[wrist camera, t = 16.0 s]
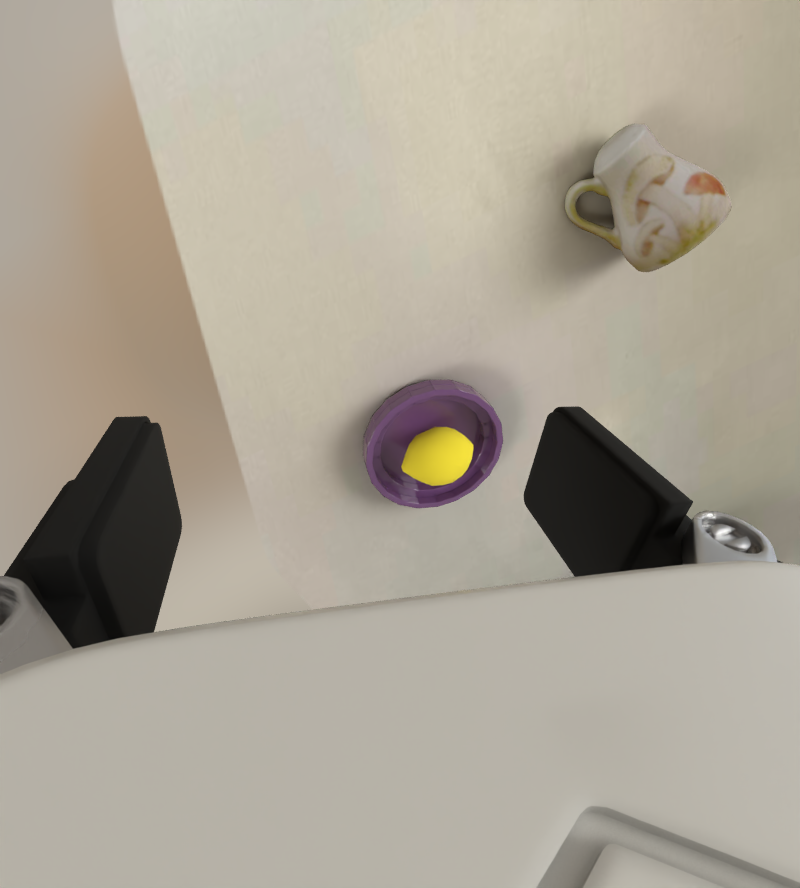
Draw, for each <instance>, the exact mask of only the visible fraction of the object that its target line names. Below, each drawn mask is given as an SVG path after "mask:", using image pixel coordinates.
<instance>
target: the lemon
mask: <svg viewBox="0 0 800 888" xmlns="http://www.w3.org/2000/svg"><path fill="white" fill-rule="evenodd" d="M472 455H473V444H472V443H471V441H469V440H468V439H467V438H466V437H465V436H464V435H463V434H461V433H460V432H458V431H457V430H455V429H452V428H449V427H434V428H431V429H429V430H427V431H425V432H423V433H420V434H418V435H416V436H415V437H414V439H413V440H412V441H411V443H410V444H409V446H408V449H407V451H406V454H405V457H404V460H403V463H402V466H401V468H402V471H403V472H405V473H406V474H408V475H409V476H411V477H413V478H414V479H416V480H418V481H421V482H423V483H425V484H428V485H431V486H437V485H445V484H449V483H453V482H454V481H456V480H457V479H458V478H460V477H461V476H462V475H463V474H464V473H465V472H466V470H467V469H468V467H469V465H470V462H471V460H472Z"/></svg>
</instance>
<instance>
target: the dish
mask: <svg viewBox="0 0 800 888" xmlns="http://www.w3.org/2000/svg"><path fill="white" fill-rule="evenodd" d="M434 427H449V428H452V429H455V430H457V431H458V432H460V433H461V434H463V435H464V436H465V437H466V438H467V439H468V440H469V441H471V443H472V444H473V455H472V460H471V462H470V465H469V467H468V469H467V470H466V472H465V473H464V474H463V475H462V476H461V477H460V478H458V479H457V480H456V481H454V482H453V483H449V484H445V485H437V486H431V485H428V484H425V483H423V482H421V481H418V480H416V479H414V478H413V477H411V476H409V475H408V474H406V473H405V472H403V471H402V468H401V466H402V463H403V460H404V457H405V454H406V451H407V449H408V446H409V444H410V443H411V441H412V440H413V439H414V437H415V436H416V435H418V434H420V433H423V432H425V431H427V430H429V429H431V428H434ZM502 444H503V436H502V426H501V422H500V420H499V418H498V416H497V414H496V413H495V411H494V409H493V407H492V406H491V405H490V404H489V403H488V401H487V400H486V399H485V398H484V397H483V396H482V395H481V394H479V393H478V392H477V391H476V390H474V389H473V388H472V387H471V386H468V385H465V384H462V383H459V382H456V381H453V380H426V381H423V382H420V383H416V384H413V385H410V386H407V387H405V388H403V389H402V390H400V391H399V392H397V393H396V394H394V395H393V396H391V397H389V398H388V399H387V400H386V401H385V402H384V403H383V404H382V405H381V406H380V408H379V409H378V410H377V411H376V412H375V413H374V414H373V416H372V418H371V420H370V422H369V425H368V427H367V429H366V432H365V434H364V442H363V457H364V460H365V464H366V468H367V471H368V474H369V477H370V480H371V483H372V484H373V485H374V486H375V487H376V488H377V490H378V491H379V492H380V493H381V494H382V495H383V496H384V497H386V498H388V499H389V500H391V501H393V502H395V503H397V504H399V505H403V506H408V507H414V508H428V507H438V506H441V505H444V504H448V503H451V502H454V501H456V500H458V499H460V498H462V497H463V496H465V495H467V494H468V493H470V492H472V491H473V490H475V489H476V488H477V487H478V486H479V485H480V484H481V483H482V482H483V481H484V480H485V479H486V478H487V477H488V476H489V474H490V473H491V471H492V469H493V468H494V466H495V464H496V463H497V461H498V459H499V456H500V452H501V448H502Z"/></svg>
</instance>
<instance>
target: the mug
mask: <svg viewBox="0 0 800 888" xmlns="http://www.w3.org/2000/svg"><path fill="white" fill-rule="evenodd" d="M593 174H594V178H593V179H586V180H580V181H578V182H577V183H575V184H574V185H573V186H572V187H570V189H569V190H568V193H567V195H566V199H565V210H566V213H567V215H568V217H569V219H570V220H571V221H572V222H573V223H574V224H575V225H576V226H578V227H579V228H581V229H584V230H586V231H588V232H591V233H593V234H595V235H597V236H599V237H601V238H603V239H605V240H607V241H608V242H609V243H610V244H611V245H612V246H613V247H615V248H617V249H619V250H621V251H622V253H623V255H624V256H625V258H626V259H627V261H628V262H629V263H630V264H631V265H633V266H634V267H635V268H636V269H637V270H638V271H641V272H650V271H654V270H657V269H659V268H661V267H663V266H665V265H668V264H669V263H671V262H673V261H675V260H676V259H678V258H680V257H682V256H683V255H685V254H686V253H688V252H689V251H691V250H692V249H693V248H695V247H696V246H697V245H699V244H700V243H701V242H702V241H704V240H705V239H706V238H707V237H708V236H709V235H711V234H712V233H713V232H714V231H715V230H716V229H717V228H718V227H719V226H720V225H721V224H722V223H723V221H724V220H725V219H726V218H727V216H728V215H729V213H730V211H731V208H732V205H731V200H730V198H729V195H728V193H727V190H726V188H725V187H724V185H723V184H722V182H721V181H720V180H719V179H718V178H717V177H716V176H714V175H713V174H711V173H710V172H708V171H706V170H704V169H702V168H700V167H698V166H697V165H694V164H692V163H690V162H688V161H686V160H684V159H682V158H679V157H677V156H675V155H673V154H672V153H670V152H668V151H667V150H666V149H665V148H664V147H662V146H661V144H660V143H659V142H658V141H657V139H656V138H655V136H654V135H653V134H652V132H651V131H650V130H649V128H648V126H647V125H645V124H632V125H628V126H626V127H624V128H623V129H621V130H619V131H618V132H617V133H616V134H614V135H613V136H612V137H611V138H610V139H609V140H608V141H607V142H606V143H605V144H604V145H603V146H602V148H601V149H600V151H599V152H598V154H597V157H596V159H595V163H594V170H593ZM587 191H594V192H596V193H597V194H600V195H603V196H607V197H608V198H609V199H610V203H611V207H612V212H613V218H614V228H612V229H610V228H606V227H604V226H600V225H597V224H595V223H592V222H590V221H588V220H586V219H584V218H582V217H581V216H579V215H578V213H577V211H576V208H575V205H576V200H577V199H578V197H579V196H580V195H581V194H583V193H584V192H587Z"/></svg>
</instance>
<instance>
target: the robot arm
mask: <svg viewBox="0 0 800 888" xmlns="http://www.w3.org/2000/svg"><path fill="white" fill-rule="evenodd" d="M524 502H525V505H526V507H527V508H528V510H529V511H530V513H531V514H532V515H533V517H534V518H535V520H536V521H537V523H538V524H539V526H540V527H541V528H542V530H543V531H544V533H545V534H546V536H547V537H548V538H549V540H550V541H551V543H552V544H553V546H554V547H555V549H556V550H557V551H558V553H559V554H560V556H561V557H562V559H563V560H564V562H565V563H566V564H567V566H568V567H569V569H570V570H571V572H572V573H573V575H574V576H575V577H571V578H562V579H554V580H545V581H537V582H528V583H520V584H512V585H504V586H496V587H488V588H480V589H471V590H463V591H455V592H447V593H439V594H431V595H423V596H415V597H407V598H399V599H391V600H384V601H376V602H368V603H361V604H353V605H345V606H337V607H330V608H322V609H314V610H307V611H299V612H291V613H284V614H276V615H268V616H261V617H253V618H247V619H239V620H232V621H224V622H217V623H210V624H203V625H196V626H190V627H184V628H177V629H171V630H165V631H159V632H154V630H155V626H156V622H157V619H158V615H159V611H160V607H161V604H162V600H163V597H164V593H165V590H166V586H167V582H168V579H169V575H170V571H171V568H172V564H173V561H174V557H175V553H176V550H177V546H178V542H179V539H180V535H181V529H182V521H181V514H180V510H179V506H178V501H177V497H176V492H175V488H174V484H173V479H172V475H171V471H170V466H169V462H168V457H167V453H166V449H165V444H164V440H163V435H162V431H161V427H160V425H159V424H158V423H151V422H150V420H149V418H148V417H147V416H141V417H116V418H115V419H114V420H113V421H112V423H111V425H110V426H109V428H108V429H107V431H106V432H105V434H104V435H103V437H102V438H101V440H100V442H99V443H98V445H97V446H96V448H95V449H94V451H93V452H92V454H91V455H90V457H89V458H88V460H87V461H86V463H85V464H84V466H83V468H82V469H81V471H80V472H79V474H78V475H77V477H76V478H75V480H71V481H69V482H68V483H67V484H66V485H65V486H64V487H63V488H62V490H61V491H60V493H59V494H58V496H57V497H56V499H55V500H54V502H53V503H52V505H51V506H50V508H49V509H48V511H47V512H46V514H45V515H44V517H43V518H42V520H41V521H40V523H39V524H38V526H37V527H36V529H35V530H34V532H33V533H32V535H31V536H30V537H29V539H28V540H27V542H26V543H25V545H24V547H23V548H22V550H21V551H20V552H19V554H18V555H17V557H16V559H15V560H14V561H13V563H12V564H11V566H10V567H9V569H8V570H7V572H6V573H5V575H4V576H0V888H800V565H795V564H789V563H783V562H780V561H777V559H776V556H775V552H774V549H773V547H772V545H771V543H770V541H769V540H768V539H767V538H766V537H765V536H764V535H763V534H762V533H761V532H760V531H759V530H757V529H756V528H755V527H753V526H752V525H750V524H748V523H746V522H744V521H743V520H741V519H739V518H736V517H733V516H731V515H728V514H725V513H721V512H716V511H703V512H699V513H697V514H696V515H695V516H694V518H693V519H692V520H691V519H690V518H689V517H688V516H687V515H686V514H687V512H688V510H689V508H690V507H691V505H692V503H693V501H692V500H690V499H689V498H688V497H687V496H686V495H684V494H683V493H682V492H681V491H680V490H679V489H677V488H676V487H675V486H674V485H673V484H671V483H670V482H669V481H668V480H667V479H665V478H664V477H663V476H662V475H661V474H660V473H658V472H657V471H656V470H655V469H654V468H652V467H651V466H650V465H649V464H648V463H646V462H645V461H644V460H643V459H642V458H641V457H639V456H638V455H637V454H636V453H635V452H633V451H632V450H631V449H630V448H629V447H627V446H626V445H625V444H624V443H623V442H622V441H620V440H619V439H618V438H617V437H616V436H614V435H613V434H612V433H611V432H610V431H608V430H607V429H606V428H605V427H604V426H603V425H601V424H600V423H599V422H598V421H597V420H595V419H594V418H593V417H592V416H591V415H589V414H588V413H587V412H586V411H585V410H583V409H582V408H581V407H558V408H556V409H555V410H554V411H553V413H550V414H549V415H548V417H547V419H546V422H545V426H544V429H543V432H542V436H541V439H540V442H539V445H538V449H537V452H536V455H535V459H534V462H533V465H532V468H531V472H530V475H529V478H528V482H527V485H526V488H525V491H524Z"/></svg>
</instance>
